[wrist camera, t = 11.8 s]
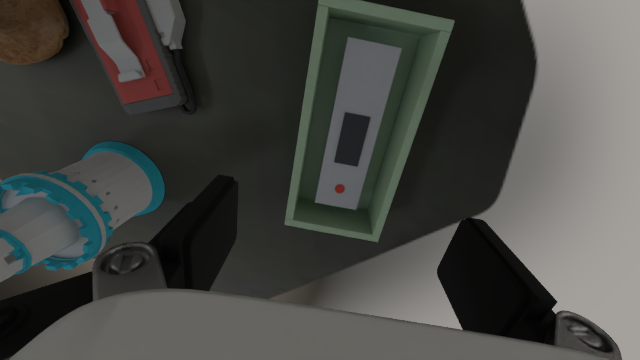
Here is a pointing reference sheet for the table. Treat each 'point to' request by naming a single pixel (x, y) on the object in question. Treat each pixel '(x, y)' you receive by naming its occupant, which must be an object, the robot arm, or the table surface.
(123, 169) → the model tower
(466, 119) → the table surface
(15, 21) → the brown flared hollow piece
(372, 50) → the remote
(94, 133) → the table surface
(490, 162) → the table surface
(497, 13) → the table surface
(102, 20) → the walkie-talkie
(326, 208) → the tray
